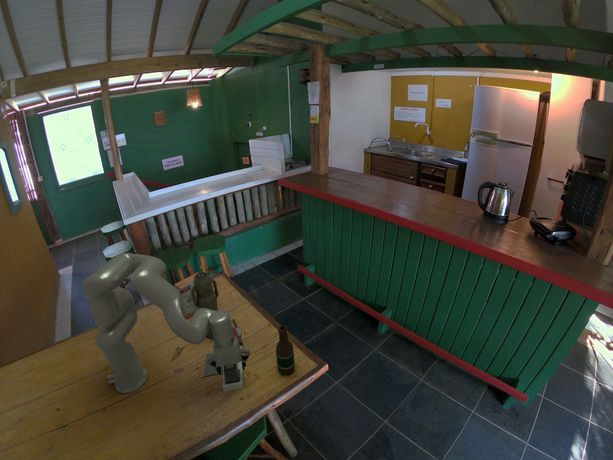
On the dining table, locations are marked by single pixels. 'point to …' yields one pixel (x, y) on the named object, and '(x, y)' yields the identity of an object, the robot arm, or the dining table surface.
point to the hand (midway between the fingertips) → (232, 369)
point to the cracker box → (187, 296)
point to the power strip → (234, 385)
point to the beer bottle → (284, 353)
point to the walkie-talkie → (237, 333)
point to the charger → (231, 373)
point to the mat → (211, 368)
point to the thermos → (205, 294)
